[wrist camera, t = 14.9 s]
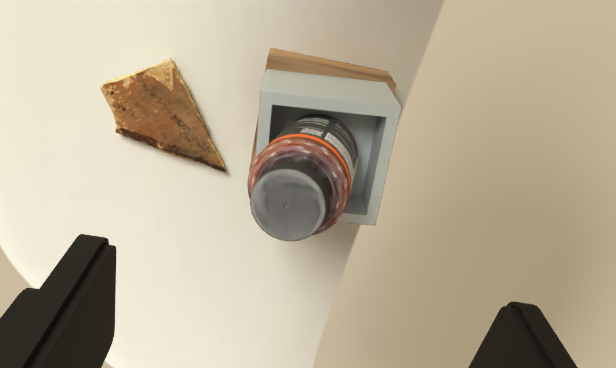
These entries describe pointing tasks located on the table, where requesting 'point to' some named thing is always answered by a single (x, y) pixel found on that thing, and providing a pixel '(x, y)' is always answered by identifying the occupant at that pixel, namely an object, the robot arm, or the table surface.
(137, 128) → the shard
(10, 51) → the table surface
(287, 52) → the tower bottom
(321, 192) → the supplement bottle
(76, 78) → the table surface
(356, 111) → the tower top
